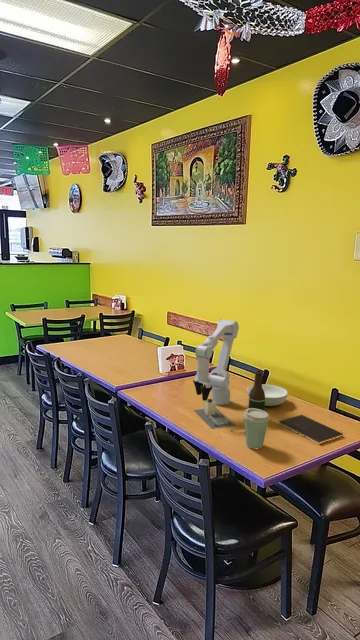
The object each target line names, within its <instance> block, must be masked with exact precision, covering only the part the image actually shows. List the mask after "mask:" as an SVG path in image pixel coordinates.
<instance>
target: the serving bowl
mask: <svg viewBox="0 0 360 640" xmlns="http://www.w3.org/2000/svg"><path fill="white" fill-rule="evenodd" d="M253 386H254V384H253V385H250V386H248V387H247V388H246V393H247V396H248V398H249V394H250V391H251V389H252V388H253ZM262 389H263V390H264V393H265V407H275V406H278V405H281V404H283V403H284V402H285V401H286V399H287V397H288V394H289V392H288V390H286V389H285V388H283V387H281V386H278V385H274V384H267V383H266V384H263V383H262Z"/></svg>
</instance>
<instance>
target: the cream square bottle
mask: <svg viewBox="0 0 360 640" xmlns="http://www.w3.org/2000/svg"><path fill="white" fill-rule="evenodd" d="M203 403H204V404H203V405H204V406H203V409H204V413H205V414H206V415H207V416H208V415H215V408H216V406H217V405H216V403H215V402H214V401H213V400H212V399H211V398H208V399H207V400H205V401H203Z"/></svg>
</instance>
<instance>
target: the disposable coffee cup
mask: <svg viewBox="0 0 360 640" xmlns="http://www.w3.org/2000/svg"><path fill="white" fill-rule="evenodd" d="M242 416H243V420H244V433H245V444H246V447H248V448H249V447H251V448H260V449H262V448H263V446H264V442H265V438H266V433H267V431H268V430H267V429H268V425H269V421H270V415H269V413H268V412H267V411H265V410H264V411H263V410H260V409H255V408H249V409H248V408H246V409H245V411H244V412H243V415H242ZM261 447H262V448H261ZM251 448H250V449H251Z"/></svg>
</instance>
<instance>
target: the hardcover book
mask: <svg viewBox="0 0 360 640" xmlns="http://www.w3.org/2000/svg"><path fill="white" fill-rule="evenodd" d="M278 422H279V425H280V424H281V425H283V426H285V427H287V428H289V429H291V430H293V431H295V432H297V433H299V434H301V435H304V436H305V437H308V438H310V439H312V440H314V441H316V442H318V443H320V442H323V441H326V440H329V439H333V438H336V437H338V436H341V435H343V436H344V434H343V432H340V431H338V430H336V429H334V428H331V427H329V426H327V425H326V424H323V423H320V422H319V421H317V420H314V419H313V418H310V417H307V416H306V415H303V414H300V415H296V416H292V417H288V418H285V419H281V420H278ZM281 425H280V426H281ZM283 426H282V427H283ZM285 427H284V428H285ZM287 428H286V429H287ZM289 429H288V430H289ZM291 430H290V431H291ZM293 431H292V432H293ZM295 432H294V433H295ZM297 433H296V434H297ZM299 434H298V435H299ZM301 435H300V436H301ZM305 437H304V438H305Z"/></svg>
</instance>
